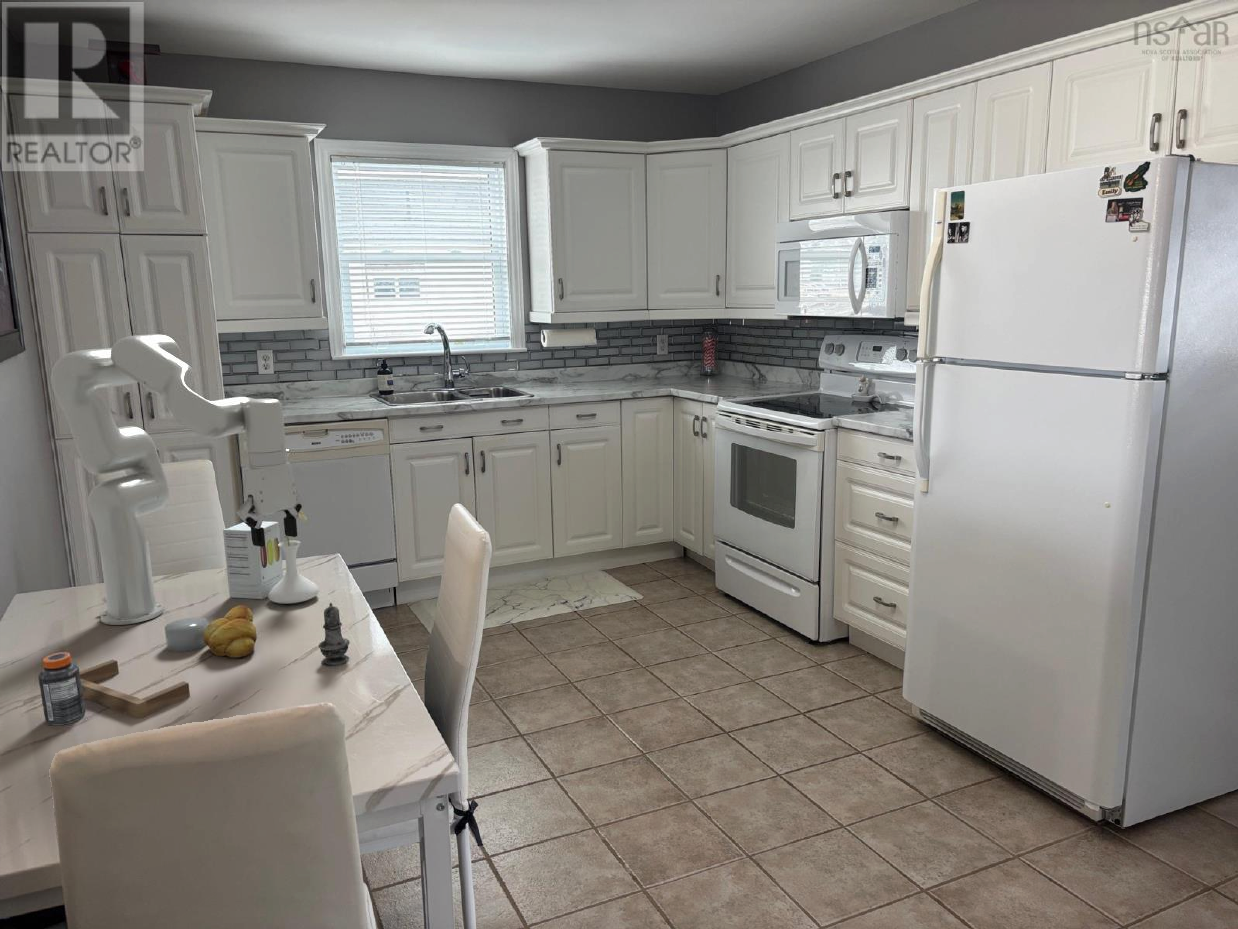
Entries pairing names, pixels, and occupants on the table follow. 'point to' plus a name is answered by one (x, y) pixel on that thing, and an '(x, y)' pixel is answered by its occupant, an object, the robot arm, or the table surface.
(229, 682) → the table surface
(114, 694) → the brown angled bar
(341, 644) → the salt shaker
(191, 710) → the table surface
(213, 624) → the bread roll
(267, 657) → the table surface
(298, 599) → the flower in vase
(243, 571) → the supplement box
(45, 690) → the pill bottle
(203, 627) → the grey glossy rounded piece
